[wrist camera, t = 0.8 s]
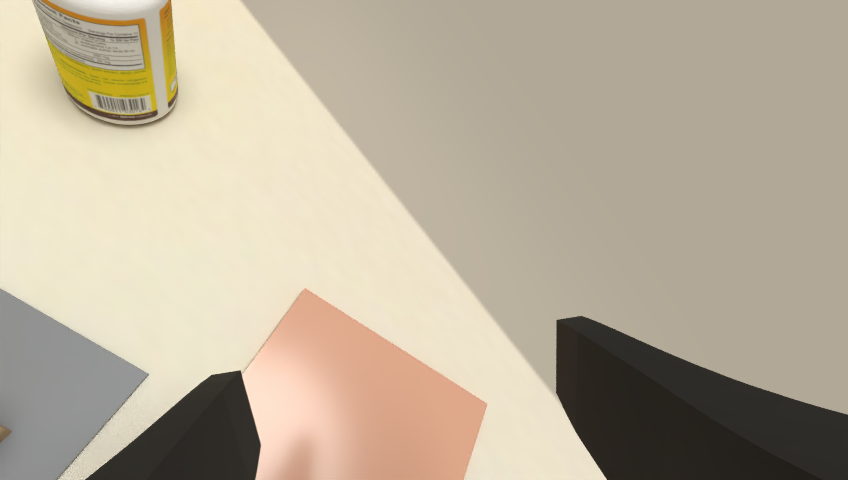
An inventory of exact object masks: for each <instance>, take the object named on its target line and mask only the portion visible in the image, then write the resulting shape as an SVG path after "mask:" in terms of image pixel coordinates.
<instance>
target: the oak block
mask: <svg viewBox="0 0 848 480" xmlns="http://www.w3.org/2000/svg"><path fill="white" fill-rule="evenodd" d="M11 432H12V431H11V430H9V429H7V428H6V427H4V426H2V425H0V443H1V442H2V441H3V440H4V439H5V438H6V437H7V436H8V435H9V434H10V433H11Z"/></svg>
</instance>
